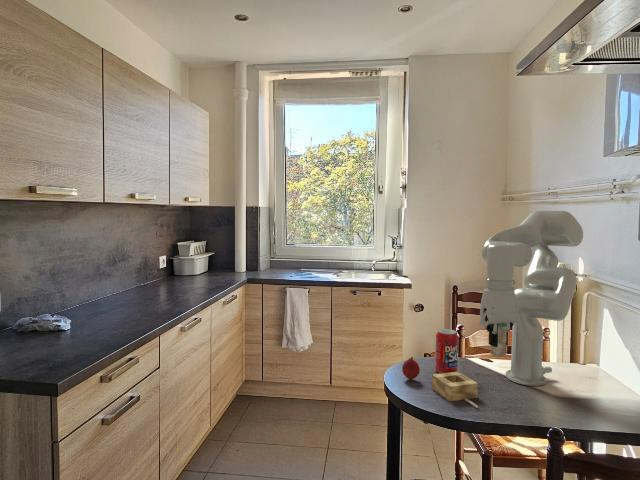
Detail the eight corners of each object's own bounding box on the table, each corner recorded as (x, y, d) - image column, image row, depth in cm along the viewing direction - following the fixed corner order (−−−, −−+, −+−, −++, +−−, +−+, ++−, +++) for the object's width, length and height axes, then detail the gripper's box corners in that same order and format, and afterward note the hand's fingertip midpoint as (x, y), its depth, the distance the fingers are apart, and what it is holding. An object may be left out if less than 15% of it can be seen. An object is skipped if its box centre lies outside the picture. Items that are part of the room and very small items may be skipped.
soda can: (435, 367, 154) (437, 327, 153) (458, 370, 151) (459, 329, 150) (433, 374, 147) (434, 332, 146) (456, 377, 144) (458, 335, 143)
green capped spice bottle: (498, 352, 128) (499, 317, 127) (505, 356, 125) (506, 320, 124) (490, 353, 127) (491, 318, 126) (497, 357, 124) (498, 321, 123)
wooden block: (457, 384, 138) (458, 371, 137) (477, 397, 128) (478, 383, 128) (431, 388, 135) (431, 374, 134) (449, 401, 125) (450, 386, 125)
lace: (464, 400, 125) (464, 398, 125) (467, 400, 126) (467, 398, 126) (476, 408, 120) (476, 406, 120) (478, 408, 121) (479, 405, 121)
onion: (419, 384, 138) (420, 360, 137) (401, 382, 139) (402, 359, 139) (419, 377, 144) (419, 354, 143) (402, 376, 145) (402, 353, 144)
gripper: (512, 281, 131) (510, 338, 132) (468, 284, 126) (467, 344, 127) (531, 285, 123) (529, 346, 125) (485, 289, 119) (483, 352, 120)
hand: (498, 344), depth 126 cm, fingers closed on green capped spice bottle, 3 cm apart
